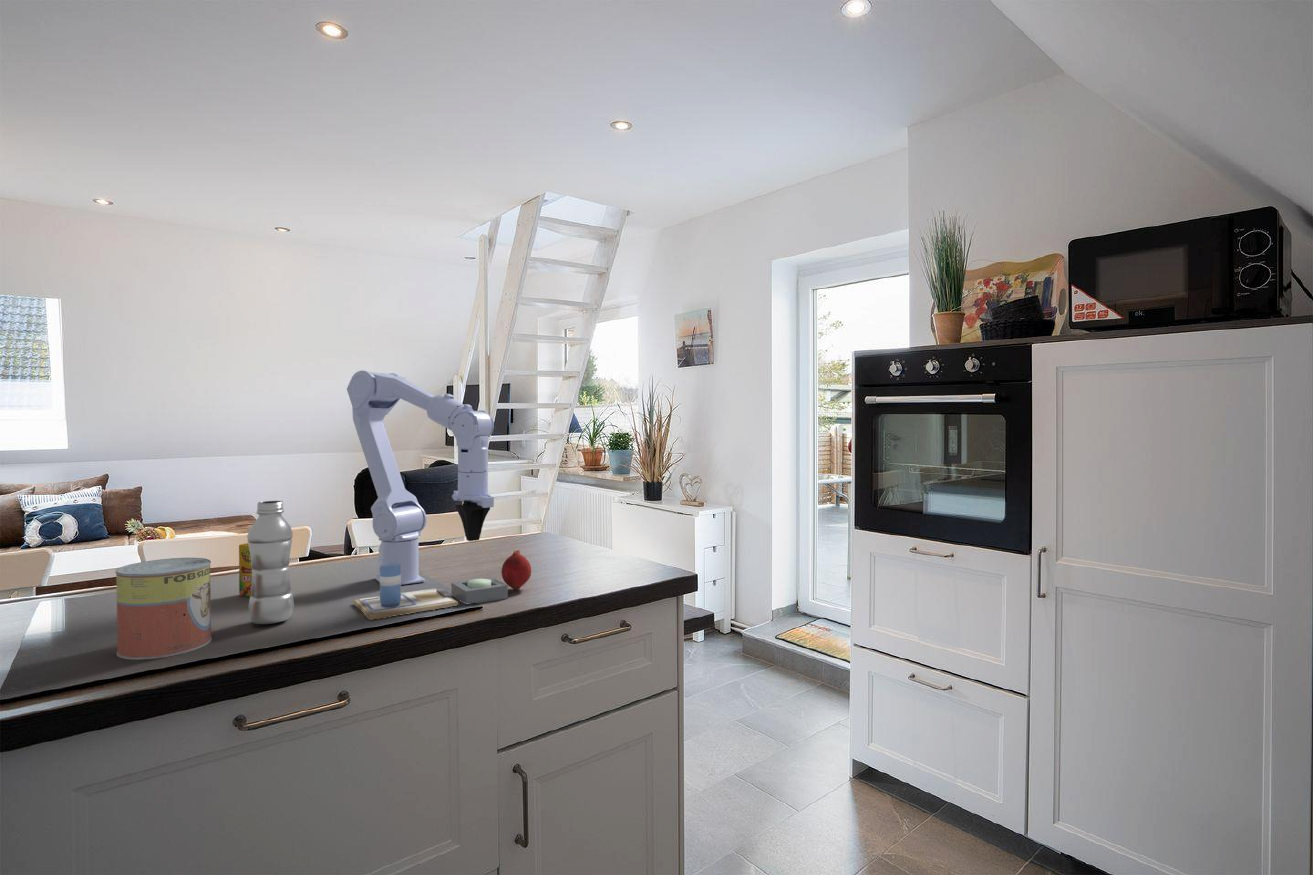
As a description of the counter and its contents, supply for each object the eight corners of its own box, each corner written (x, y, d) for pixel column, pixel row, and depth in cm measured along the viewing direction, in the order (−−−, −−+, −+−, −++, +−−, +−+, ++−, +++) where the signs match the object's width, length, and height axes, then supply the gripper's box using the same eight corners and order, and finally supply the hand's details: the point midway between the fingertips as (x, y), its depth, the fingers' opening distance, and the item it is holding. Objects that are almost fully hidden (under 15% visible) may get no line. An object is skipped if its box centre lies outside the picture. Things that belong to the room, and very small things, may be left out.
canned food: (190, 656, 94) (189, 572, 93) (98, 662, 91) (97, 575, 91) (224, 631, 105) (223, 556, 104) (143, 636, 102) (142, 558, 102)
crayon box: (238, 596, 126) (237, 534, 125) (252, 592, 128) (252, 532, 128) (265, 600, 123) (265, 537, 123) (280, 596, 126) (279, 535, 125)
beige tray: (354, 604, 121) (354, 596, 121) (436, 592, 129) (436, 584, 129) (369, 620, 111) (369, 612, 111) (458, 606, 120) (458, 598, 120)
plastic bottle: (303, 618, 112) (302, 500, 111) (268, 630, 105) (267, 505, 105) (274, 614, 114) (273, 498, 113) (238, 626, 107) (237, 503, 107)
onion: (527, 593, 129) (527, 552, 129) (498, 593, 129) (498, 552, 129) (533, 586, 135) (533, 547, 134) (505, 585, 135) (505, 546, 134)
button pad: (451, 595, 127) (451, 582, 127) (491, 589, 132) (491, 576, 132) (466, 605, 121) (466, 591, 121) (507, 598, 125) (507, 585, 125)
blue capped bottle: (378, 604, 117) (378, 564, 117) (398, 601, 119) (398, 562, 119) (381, 608, 114) (381, 568, 114) (402, 606, 116) (402, 566, 116)
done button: (463, 591, 127) (463, 580, 127) (486, 587, 129) (486, 577, 129) (472, 596, 123) (472, 585, 123) (494, 592, 126) (494, 582, 126)
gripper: (439, 470, 134) (439, 536, 134) (468, 475, 123) (468, 548, 123) (472, 468, 139) (472, 533, 139) (503, 473, 127) (503, 543, 128)
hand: (472, 540), depth 131 cm, fingers closed
